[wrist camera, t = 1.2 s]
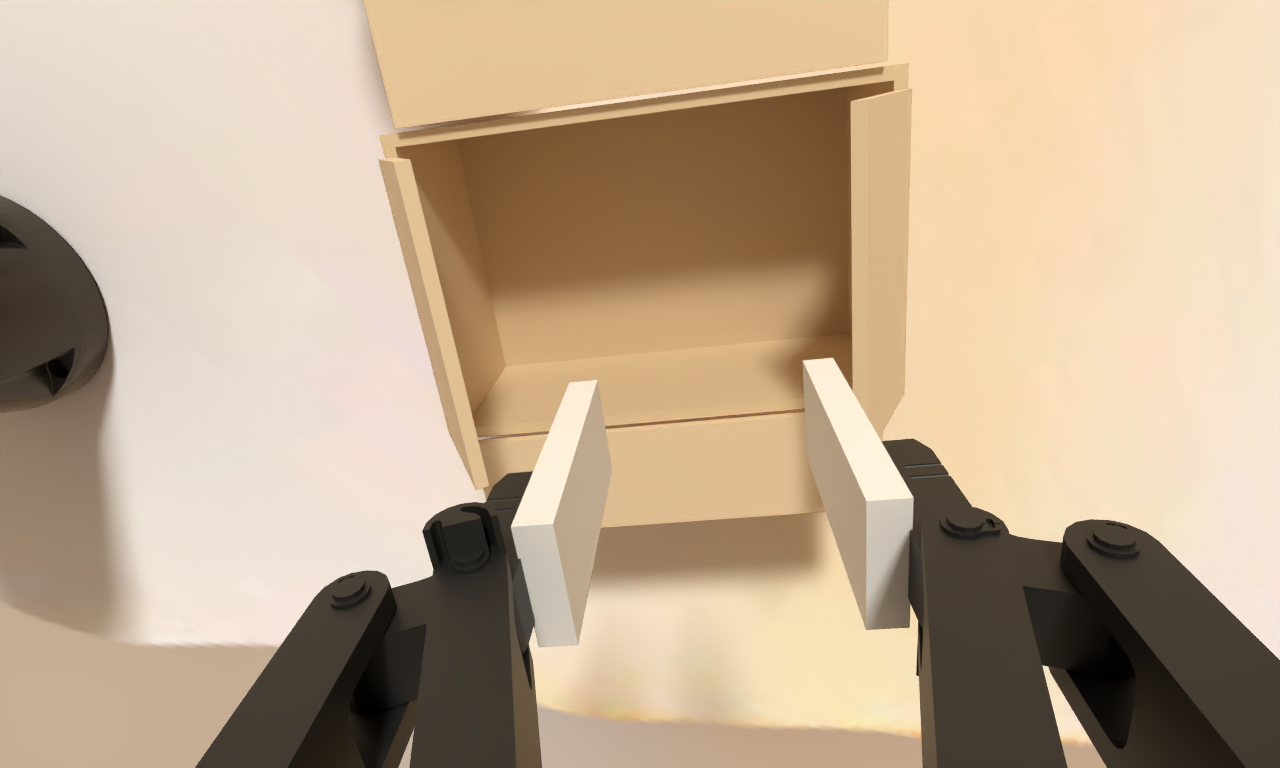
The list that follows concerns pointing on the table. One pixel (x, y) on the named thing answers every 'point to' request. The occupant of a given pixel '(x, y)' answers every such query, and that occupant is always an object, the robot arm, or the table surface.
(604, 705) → the table surface
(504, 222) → the carton
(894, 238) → the flap
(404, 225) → the flap
